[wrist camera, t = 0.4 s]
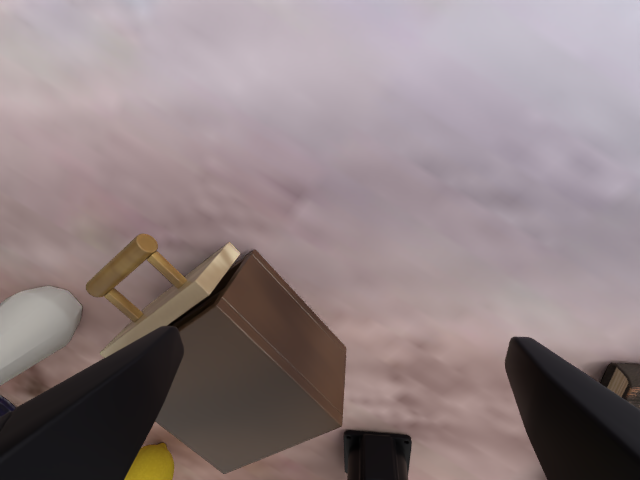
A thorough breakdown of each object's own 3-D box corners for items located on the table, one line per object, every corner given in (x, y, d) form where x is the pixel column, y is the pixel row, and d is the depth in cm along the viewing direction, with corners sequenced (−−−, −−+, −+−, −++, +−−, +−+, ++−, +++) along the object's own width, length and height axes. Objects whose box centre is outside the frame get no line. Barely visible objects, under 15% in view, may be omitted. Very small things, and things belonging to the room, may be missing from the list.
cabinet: (163, 316, 28) (104, 383, 21) (255, 248, 24) (216, 305, 17) (252, 395, 31) (223, 474, 25) (346, 347, 27) (342, 426, 21)
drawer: (107, 272, 25) (48, 313, 21) (188, 197, 22) (139, 227, 17) (233, 383, 29) (208, 440, 24) (319, 336, 26) (310, 392, 21)
